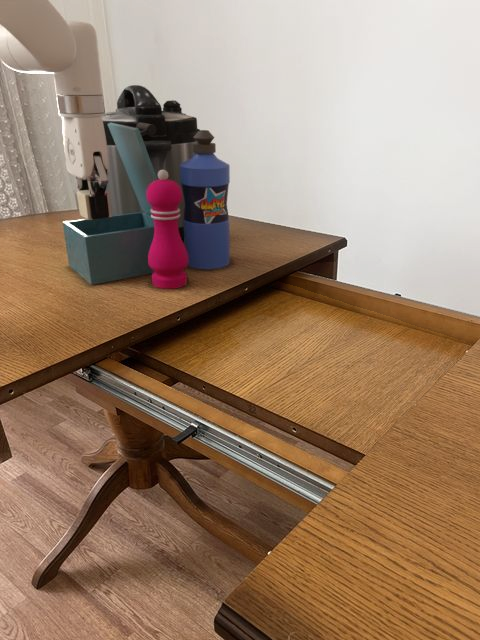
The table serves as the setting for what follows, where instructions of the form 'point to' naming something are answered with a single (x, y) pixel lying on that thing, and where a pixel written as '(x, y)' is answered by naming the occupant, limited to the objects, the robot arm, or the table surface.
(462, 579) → the table surface
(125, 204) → the pressure cooker
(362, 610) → the table surface
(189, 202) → the water bottle
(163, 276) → the pepper mill
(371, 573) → the table surface
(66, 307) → the table surface
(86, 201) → the block
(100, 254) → the bin
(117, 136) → the bin lid
